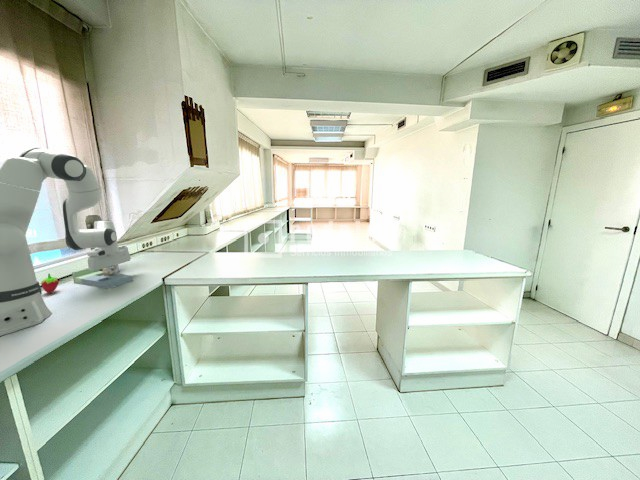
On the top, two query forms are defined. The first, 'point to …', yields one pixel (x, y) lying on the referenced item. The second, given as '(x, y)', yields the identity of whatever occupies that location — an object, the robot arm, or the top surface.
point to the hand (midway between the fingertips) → (113, 273)
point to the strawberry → (49, 284)
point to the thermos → (92, 223)
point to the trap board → (99, 278)
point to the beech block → (107, 272)
